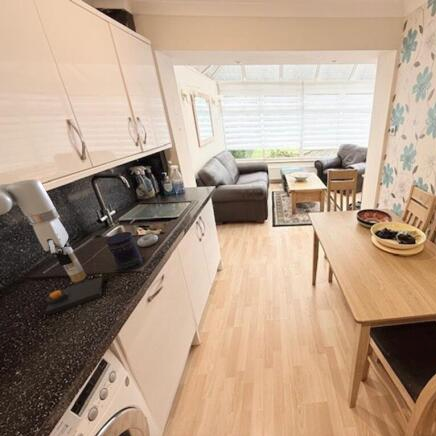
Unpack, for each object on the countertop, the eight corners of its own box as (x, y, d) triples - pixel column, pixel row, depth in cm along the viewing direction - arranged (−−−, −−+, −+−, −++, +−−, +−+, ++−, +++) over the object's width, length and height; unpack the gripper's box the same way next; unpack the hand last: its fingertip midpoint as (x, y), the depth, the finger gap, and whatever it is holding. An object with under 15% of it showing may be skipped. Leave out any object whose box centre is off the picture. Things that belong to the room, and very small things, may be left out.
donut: (137, 242, 131) (138, 250, 123) (135, 237, 129) (136, 244, 122) (157, 236, 135) (159, 243, 128) (155, 231, 134) (157, 238, 126)
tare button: (50, 300, 89) (48, 297, 88) (52, 295, 91) (50, 292, 90) (60, 296, 90) (58, 293, 89) (62, 292, 92) (60, 289, 92)
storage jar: (113, 270, 108) (99, 242, 102) (130, 258, 117) (118, 231, 110) (132, 271, 106) (119, 243, 100) (147, 259, 115) (137, 232, 108)
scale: (46, 316, 86) (41, 308, 84) (55, 296, 95) (50, 289, 94) (101, 296, 93) (97, 289, 91) (104, 280, 102) (101, 273, 101)
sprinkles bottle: (69, 283, 90) (51, 253, 84) (76, 275, 94) (59, 247, 88) (82, 281, 91) (65, 251, 85) (89, 273, 95) (73, 245, 89)
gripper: (36, 211, 86) (61, 253, 94) (18, 229, 72) (49, 276, 80) (63, 206, 89) (85, 247, 97) (50, 221, 76) (77, 268, 84)
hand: (68, 260), depth 89 cm, fingers closed on sprinkles bottle, 4 cm apart
